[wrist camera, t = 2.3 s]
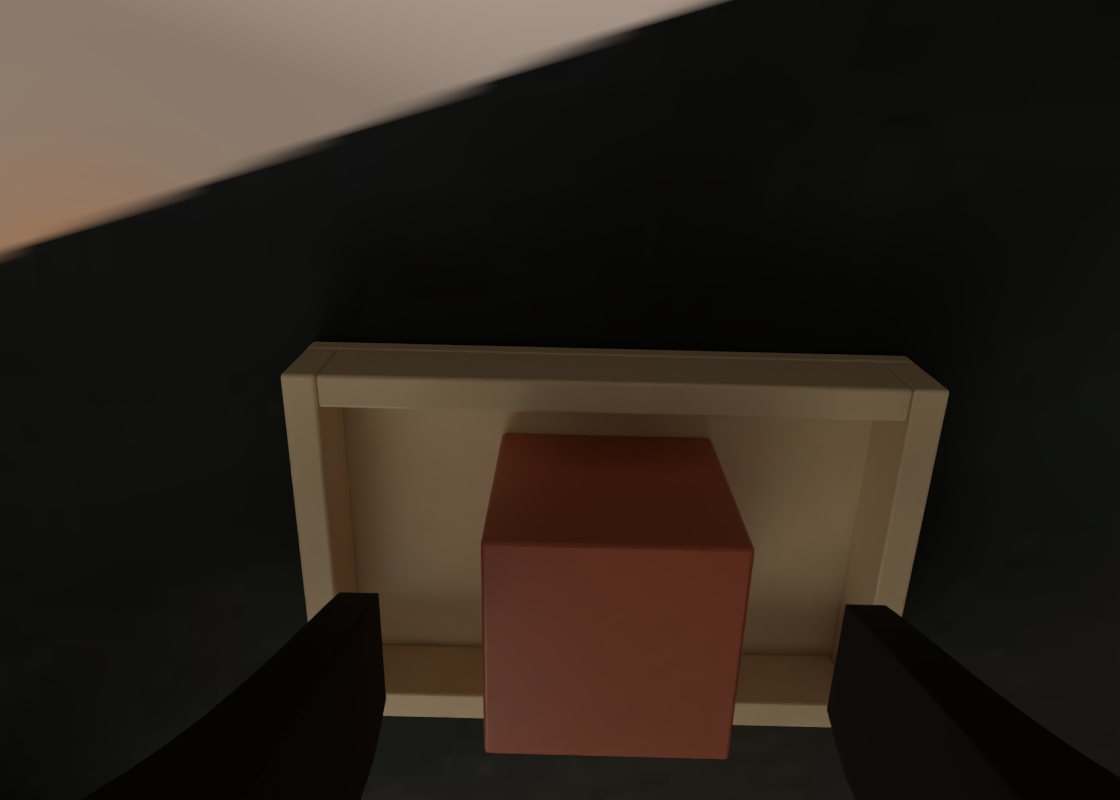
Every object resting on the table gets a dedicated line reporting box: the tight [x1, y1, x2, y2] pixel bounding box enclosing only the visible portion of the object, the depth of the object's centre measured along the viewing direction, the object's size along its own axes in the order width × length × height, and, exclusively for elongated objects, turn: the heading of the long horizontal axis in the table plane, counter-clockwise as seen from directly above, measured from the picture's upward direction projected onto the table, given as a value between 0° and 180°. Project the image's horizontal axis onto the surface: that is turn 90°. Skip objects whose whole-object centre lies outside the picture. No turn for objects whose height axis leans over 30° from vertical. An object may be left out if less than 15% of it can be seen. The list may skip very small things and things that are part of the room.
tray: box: [281, 342, 949, 727], centre depth 16 cm, size 11×7×2 cm, turn 89°
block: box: [481, 433, 755, 759], centre depth 14 cm, size 4×4×4 cm
